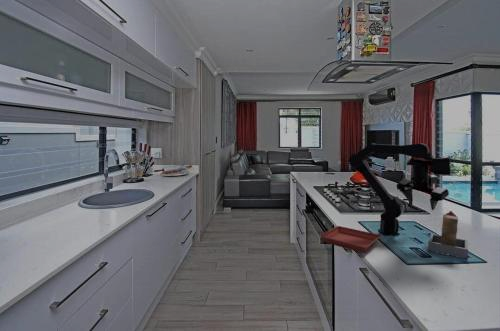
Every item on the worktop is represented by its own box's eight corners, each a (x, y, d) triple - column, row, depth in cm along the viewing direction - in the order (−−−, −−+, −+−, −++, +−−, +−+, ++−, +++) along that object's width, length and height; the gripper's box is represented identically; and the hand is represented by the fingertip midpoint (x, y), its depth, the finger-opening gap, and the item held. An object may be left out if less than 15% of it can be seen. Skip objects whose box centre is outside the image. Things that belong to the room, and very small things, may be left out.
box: (427, 251, 107) (428, 241, 106) (430, 242, 116) (431, 233, 116) (467, 259, 100) (468, 249, 99) (466, 249, 109) (467, 240, 109)
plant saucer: (337, 232, 127) (338, 225, 127) (381, 242, 115) (381, 234, 115) (318, 243, 113) (319, 235, 113) (366, 256, 102) (366, 247, 101)
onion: (443, 224, 140) (444, 208, 139) (457, 227, 136) (459, 210, 136) (441, 227, 136) (442, 210, 135) (456, 230, 132) (458, 213, 131)
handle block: (440, 248, 107) (443, 217, 106) (440, 245, 111) (443, 214, 110) (454, 251, 105) (457, 219, 103) (454, 248, 108) (457, 216, 107)
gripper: (456, 170, 114) (456, 204, 119) (410, 162, 130) (412, 192, 135) (440, 182, 109) (441, 217, 115) (394, 172, 125) (397, 203, 131)
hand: (421, 206), depth 124 cm, fingers open, 9 cm apart
